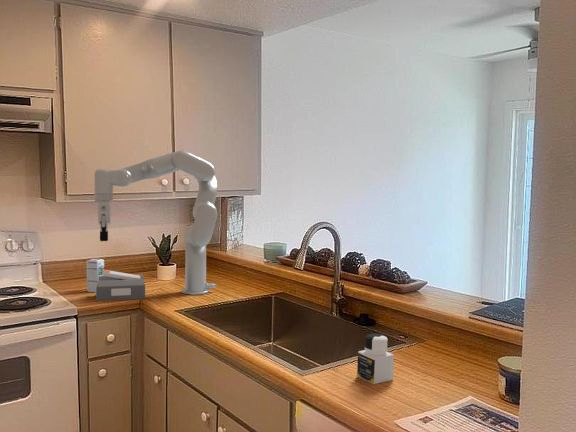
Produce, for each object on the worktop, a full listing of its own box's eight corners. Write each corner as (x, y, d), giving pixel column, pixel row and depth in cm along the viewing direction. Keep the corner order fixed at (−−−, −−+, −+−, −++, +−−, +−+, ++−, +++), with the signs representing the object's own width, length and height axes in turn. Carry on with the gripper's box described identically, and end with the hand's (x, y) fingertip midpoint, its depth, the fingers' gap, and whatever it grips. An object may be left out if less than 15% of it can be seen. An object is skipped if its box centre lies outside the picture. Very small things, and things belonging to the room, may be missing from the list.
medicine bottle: (356, 376, 151) (357, 333, 150) (376, 371, 154) (377, 330, 153) (373, 385, 145) (375, 340, 144) (393, 380, 148) (395, 337, 147)
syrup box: (98, 292, 247) (98, 260, 246) (86, 291, 248) (86, 260, 247) (104, 289, 252) (104, 259, 251) (93, 289, 253) (93, 258, 252)
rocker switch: (139, 278, 244) (139, 275, 244) (139, 281, 238) (140, 278, 238) (102, 272, 239) (103, 269, 239) (101, 275, 233) (102, 271, 233)
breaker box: (143, 292, 248) (143, 274, 247) (145, 298, 236) (145, 279, 236) (97, 294, 242) (97, 276, 241) (96, 301, 230) (96, 281, 230)
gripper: (112, 199, 227) (112, 242, 229) (113, 197, 242) (113, 238, 244) (93, 198, 225) (94, 243, 226) (95, 197, 240) (95, 238, 242)
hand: (103, 240), depth 235 cm, fingers closed
